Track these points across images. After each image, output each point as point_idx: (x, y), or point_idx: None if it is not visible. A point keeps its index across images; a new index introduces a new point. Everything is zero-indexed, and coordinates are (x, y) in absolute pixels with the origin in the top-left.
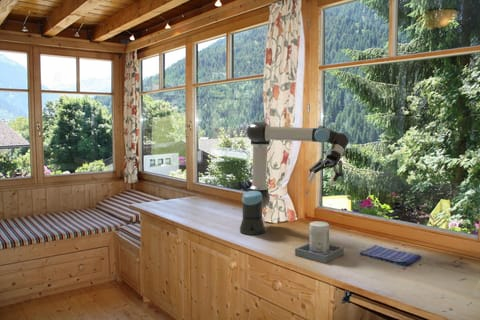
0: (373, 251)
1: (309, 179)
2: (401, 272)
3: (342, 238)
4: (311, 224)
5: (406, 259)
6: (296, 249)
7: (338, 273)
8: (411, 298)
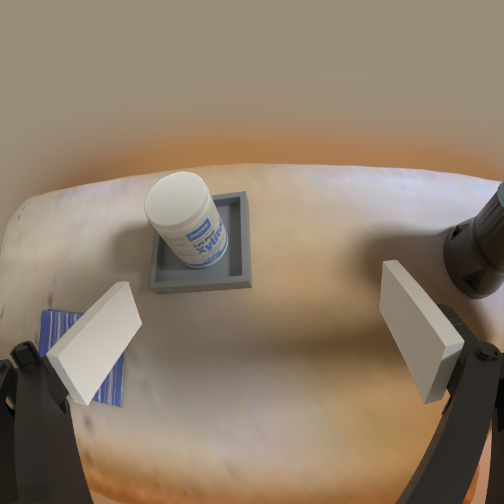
0: None
1: (389, 272)
2: (51, 278)
3: (233, 426)
4: (190, 175)
5: (48, 340)
6: (241, 192)
7: (128, 195)
8: (43, 207)
